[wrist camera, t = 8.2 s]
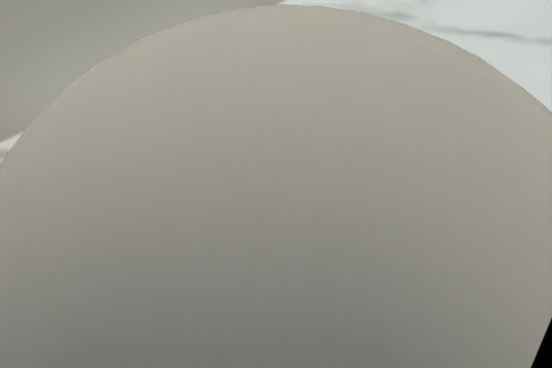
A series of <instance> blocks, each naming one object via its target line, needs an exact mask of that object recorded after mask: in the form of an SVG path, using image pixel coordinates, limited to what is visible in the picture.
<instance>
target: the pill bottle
mask: <svg viewBox="0 0 552 368" xmlns="http://www.w3.org/2000/svg"><path fill="white" fill-rule="evenodd" d="M0 368H552V113H551V112H550V111H549V110H548V109H547V107H546V106H544V105H543V104H542V103H541V102H540V101H538V100H537V99H536V98H535V97H533V96H532V95H531V94H530V93H529V92H527V91H526V90H525V89H523V88H522V87H521V86H519V85H518V84H516V83H515V82H514V81H512V80H511V79H509V78H508V77H507V76H505V75H504V74H502V73H501V72H500V71H498V70H497V69H495V68H494V67H493V66H491V65H490V64H488V63H487V62H486V61H484V60H483V59H481V58H480V57H478V56H476V55H474V54H472V53H470V52H468V51H466V50H464V49H463V48H461V47H459V46H457V45H455V44H453V43H451V42H449V41H446V40H444V39H441V38H438V37H436V36H433V35H431V34H428V33H426V32H423V31H421V30H418V29H415V28H413V27H410V26H408V25H405V24H402V23H399V22H395V21H392V20H388V19H385V18H381V17H378V16H374V15H371V14H367V13H363V12H355V11H348V10H341V9H335V8H329V7H322V6H297V5H284V4H283V5H273V6H263V7H253V8H243V9H233V10H229V11H224V12H220V13H215V14H211V15H207V16H203V17H198V18H194V19H189V20H187V21H184V22H181V23H179V24H176V25H174V26H171V27H168V28H166V29H163V30H160V31H158V32H155V33H153V34H150V35H148V36H145V37H143V38H141V39H139V40H137V41H135V42H133V43H132V44H130V45H128V46H127V47H125V48H123V49H121V50H120V51H118V52H116V53H114V54H113V55H111V56H109V57H107V58H106V59H104V60H102V61H101V62H99V63H97V64H96V65H94V66H93V67H92V68H91V69H90V70H88V71H87V72H86V73H85V74H83V75H82V76H81V77H79V78H78V79H77V80H76V81H74V82H73V83H72V84H71V85H69V86H68V87H67V88H66V89H65V90H64V91H62V93H60V94H59V95H58V96H57V97H56V98H55V99H54V100H53V101H52V102H51V103H50V104H49V105H48V106H47V107H46V108H45V109H44V110H43V111H42V112H41V113H40V114H39V116H38V117H37V118H36V119H35V120H34V121H33V122H32V123H31V124H30V126H29V127H28V128H27V129H26V130H25V131H24V132H23V134H22V135H21V136H20V138H19V139H18V140H17V142H16V143H15V144H14V145H13V147H12V148H11V149H10V151H9V152H8V153H7V155H6V156H5V158H4V159H3V161H2V163H1V164H0Z"/></svg>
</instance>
